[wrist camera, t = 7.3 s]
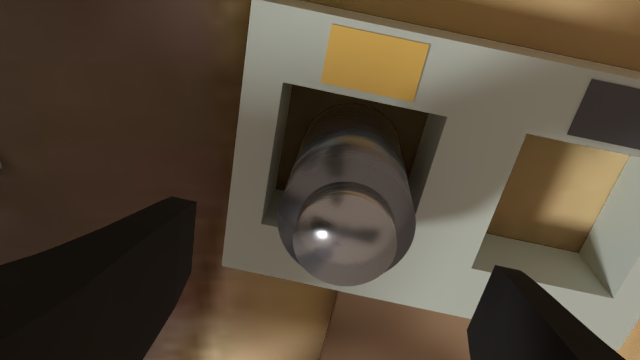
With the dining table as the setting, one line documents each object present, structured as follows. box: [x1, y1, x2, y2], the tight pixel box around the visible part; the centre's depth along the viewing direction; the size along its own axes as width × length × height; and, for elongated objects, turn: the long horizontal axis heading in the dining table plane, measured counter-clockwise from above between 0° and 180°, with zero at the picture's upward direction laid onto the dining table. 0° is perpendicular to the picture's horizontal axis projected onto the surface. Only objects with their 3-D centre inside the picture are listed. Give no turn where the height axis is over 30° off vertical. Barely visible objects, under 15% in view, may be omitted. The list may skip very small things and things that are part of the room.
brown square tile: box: [320, 291, 471, 360], centre depth 22 cm, size 8×8×1 cm
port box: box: [222, 0, 640, 351], centre depth 17 cm, size 10×16×3 cm, turn 79°
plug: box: [277, 103, 416, 286], centre depth 15 cm, size 4×4×7 cm
